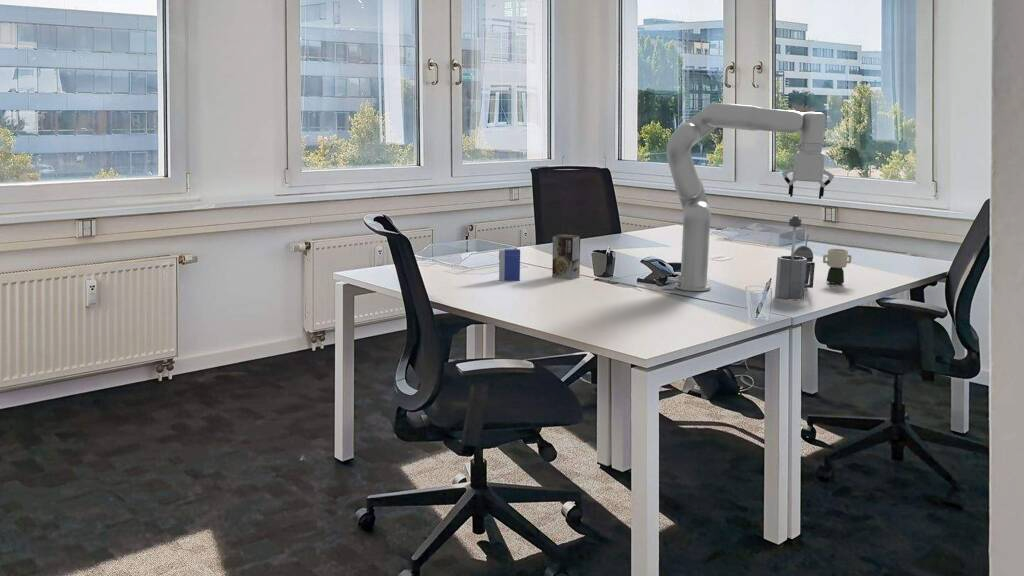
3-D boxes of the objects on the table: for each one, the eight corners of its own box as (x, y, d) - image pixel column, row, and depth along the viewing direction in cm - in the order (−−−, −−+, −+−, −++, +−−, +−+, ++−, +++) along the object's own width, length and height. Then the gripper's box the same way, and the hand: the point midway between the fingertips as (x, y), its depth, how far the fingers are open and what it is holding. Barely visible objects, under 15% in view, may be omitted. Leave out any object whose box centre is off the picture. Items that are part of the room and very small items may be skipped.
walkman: (519, 279, 347) (519, 248, 345) (519, 280, 345) (520, 249, 342) (498, 279, 347) (498, 248, 344) (498, 280, 344) (499, 249, 342)
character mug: (845, 281, 352) (848, 248, 350) (852, 285, 345) (855, 251, 343) (817, 281, 352) (820, 248, 349) (824, 285, 345) (827, 251, 342)
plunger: (785, 273, 318) (789, 216, 314) (779, 270, 324) (783, 214, 320) (803, 273, 318) (808, 217, 314) (797, 270, 324) (801, 214, 320)
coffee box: (580, 277, 354) (581, 235, 350) (572, 279, 348) (573, 237, 345) (559, 274, 358) (560, 233, 355) (551, 277, 353) (552, 235, 350)
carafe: (780, 299, 318) (783, 260, 315) (772, 294, 327) (774, 255, 325) (816, 300, 319) (819, 260, 316) (806, 294, 328) (809, 255, 325)
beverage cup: (795, 284, 345) (799, 232, 341) (814, 287, 340) (818, 234, 336) (787, 287, 339) (791, 234, 335) (806, 290, 335) (810, 236, 331)
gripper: (784, 147, 317) (779, 196, 320) (837, 150, 312) (831, 200, 315) (785, 146, 324) (780, 194, 327) (836, 149, 319) (831, 198, 322)
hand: (805, 197), depth 321 cm, fingers open, 9 cm apart
